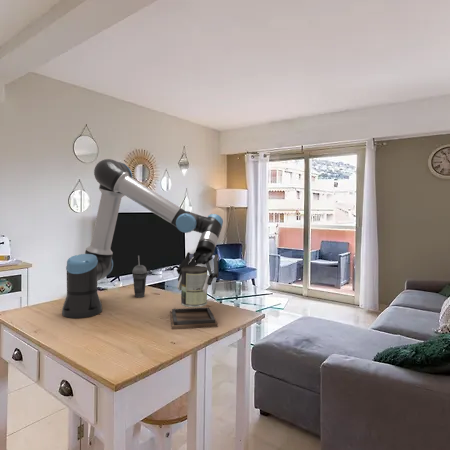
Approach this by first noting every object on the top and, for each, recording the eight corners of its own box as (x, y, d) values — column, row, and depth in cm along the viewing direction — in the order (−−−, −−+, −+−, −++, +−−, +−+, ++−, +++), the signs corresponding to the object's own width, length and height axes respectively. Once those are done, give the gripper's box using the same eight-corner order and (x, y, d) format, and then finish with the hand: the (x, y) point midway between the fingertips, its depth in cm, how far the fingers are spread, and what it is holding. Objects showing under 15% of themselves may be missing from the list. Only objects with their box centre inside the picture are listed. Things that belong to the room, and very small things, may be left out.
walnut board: (169, 314, 139) (169, 308, 139) (210, 312, 143) (210, 306, 143) (171, 329, 123) (171, 322, 123) (217, 326, 126) (217, 320, 126)
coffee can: (175, 304, 131) (175, 268, 130) (192, 298, 139) (192, 264, 138) (196, 309, 125) (196, 271, 124) (212, 302, 134) (213, 267, 133)
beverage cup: (136, 299, 160) (136, 257, 159) (129, 295, 166) (129, 255, 165) (149, 296, 165) (150, 256, 164) (142, 293, 171) (143, 254, 169)
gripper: (234, 251, 142) (221, 298, 128) (185, 248, 149) (168, 292, 135) (230, 240, 137) (216, 287, 123) (180, 238, 144) (161, 282, 130)
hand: (191, 290), depth 129 cm, fingers closed on coffee can, 10 cm apart
